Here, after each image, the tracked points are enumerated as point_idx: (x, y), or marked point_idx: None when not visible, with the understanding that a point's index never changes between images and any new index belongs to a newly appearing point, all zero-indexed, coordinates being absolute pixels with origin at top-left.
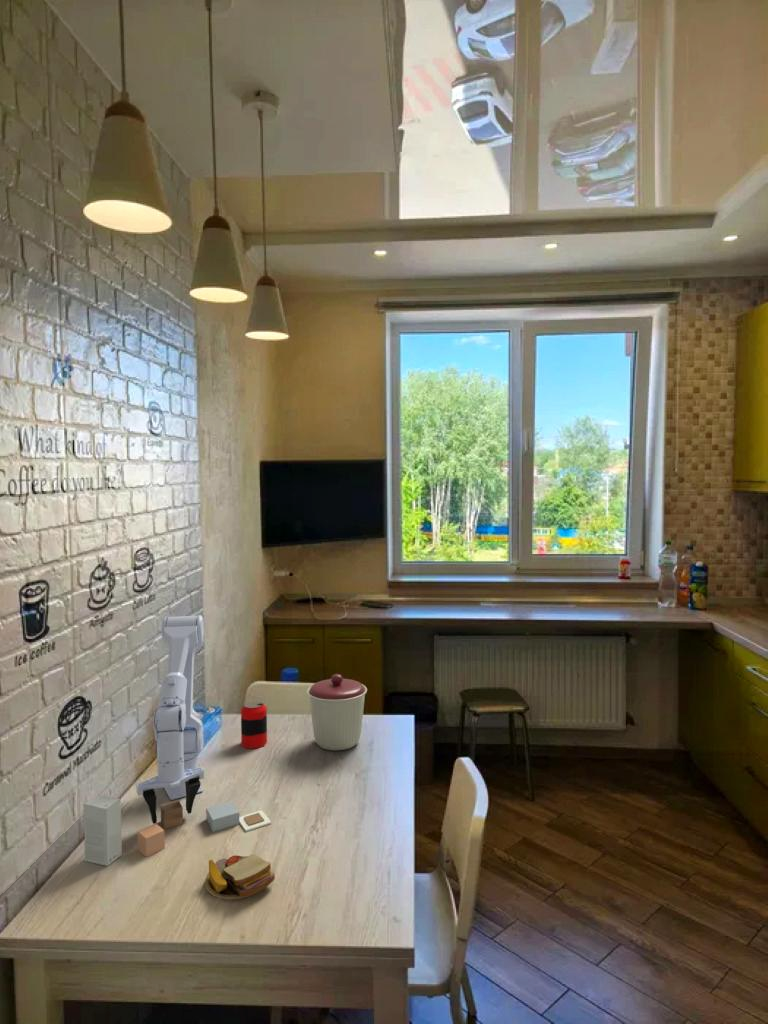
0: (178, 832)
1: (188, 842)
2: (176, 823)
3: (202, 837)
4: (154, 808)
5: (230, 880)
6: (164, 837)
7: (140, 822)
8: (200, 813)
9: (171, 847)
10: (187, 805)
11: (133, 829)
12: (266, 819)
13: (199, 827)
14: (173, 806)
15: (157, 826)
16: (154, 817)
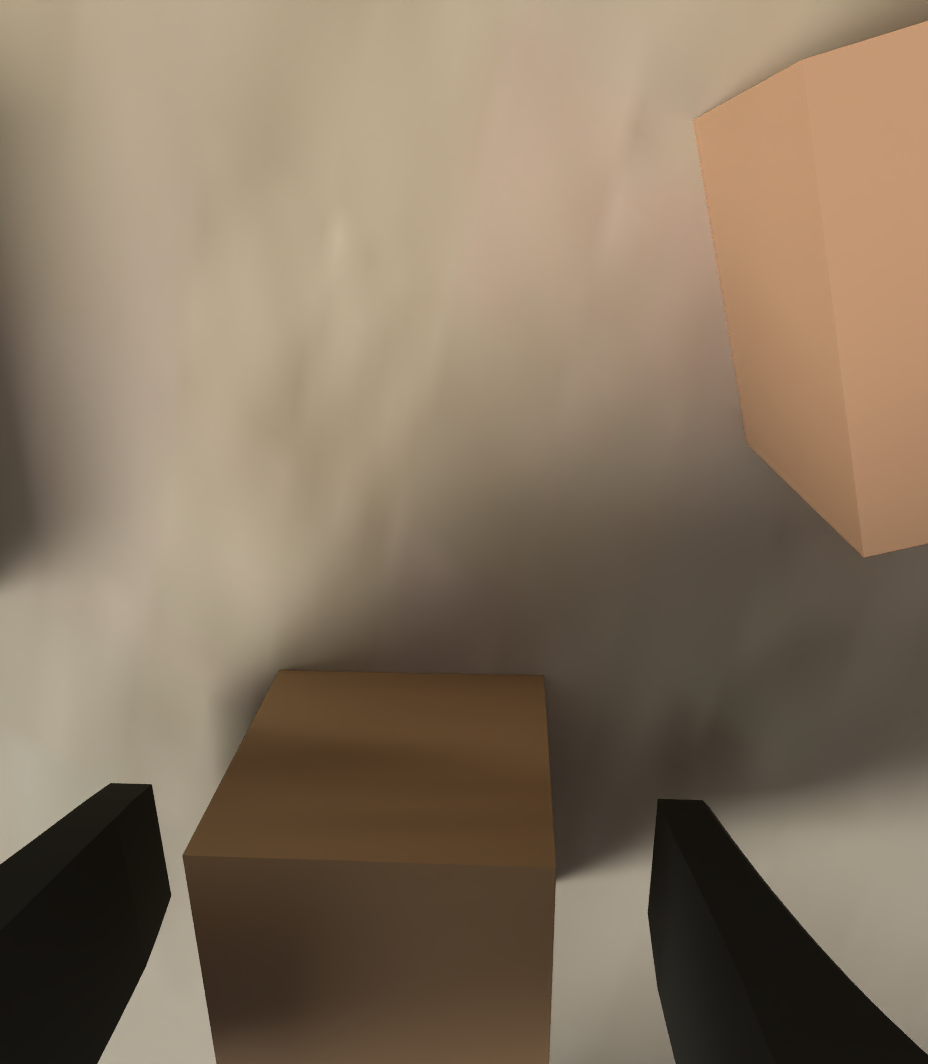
0: (378, 487)
1: (281, 70)
2: (364, 692)
3: (30, 96)
4: (791, 1012)
5: None
6: (745, 95)
7: None
8: (16, 789)
9: (583, 77)
10: (108, 919)
11: (905, 893)
12: None
13: (56, 446)
14: (345, 965)
15: (880, 383)
16: (724, 863)
